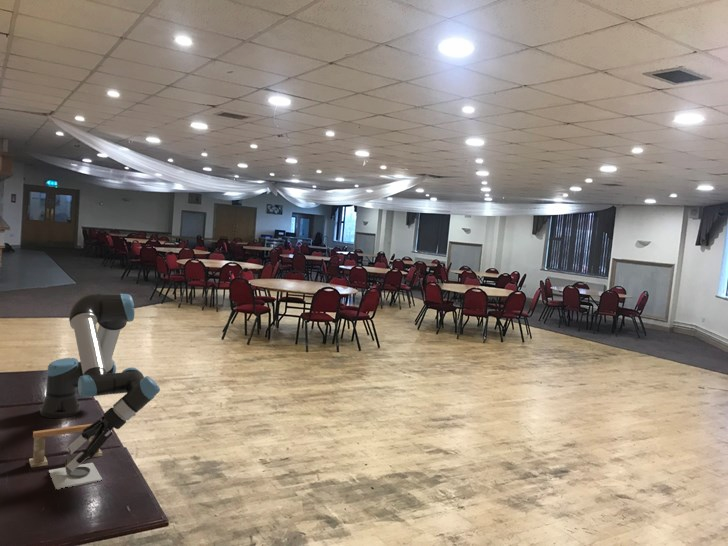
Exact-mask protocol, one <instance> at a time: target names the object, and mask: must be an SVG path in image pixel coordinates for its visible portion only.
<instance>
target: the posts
mask: <svg viewBox="0 0 728 546" xmlns="http://www.w3.org/2000/svg"><path fill="white" fill-rule="evenodd" d="M94 437H95V435H94V436H92V437H90V438H89V439H88V445H89V444H90V442H91V441H92V439H93V438H94ZM45 450H46V437H40V438H33V453H32V458H29V459H28V460H29V461H28V463H29V465H30V468H32V469H33V468H39V467H43V466H48V465H49V464H48V460H47V457H46V456H45ZM98 457H103V452H102V450H101V447H100V448H99V450H98V451H97V452H96V453H95V454H94V456H93V457H92V458H98ZM87 459H91V458H90V457H88V458H87Z"/></svg>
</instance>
